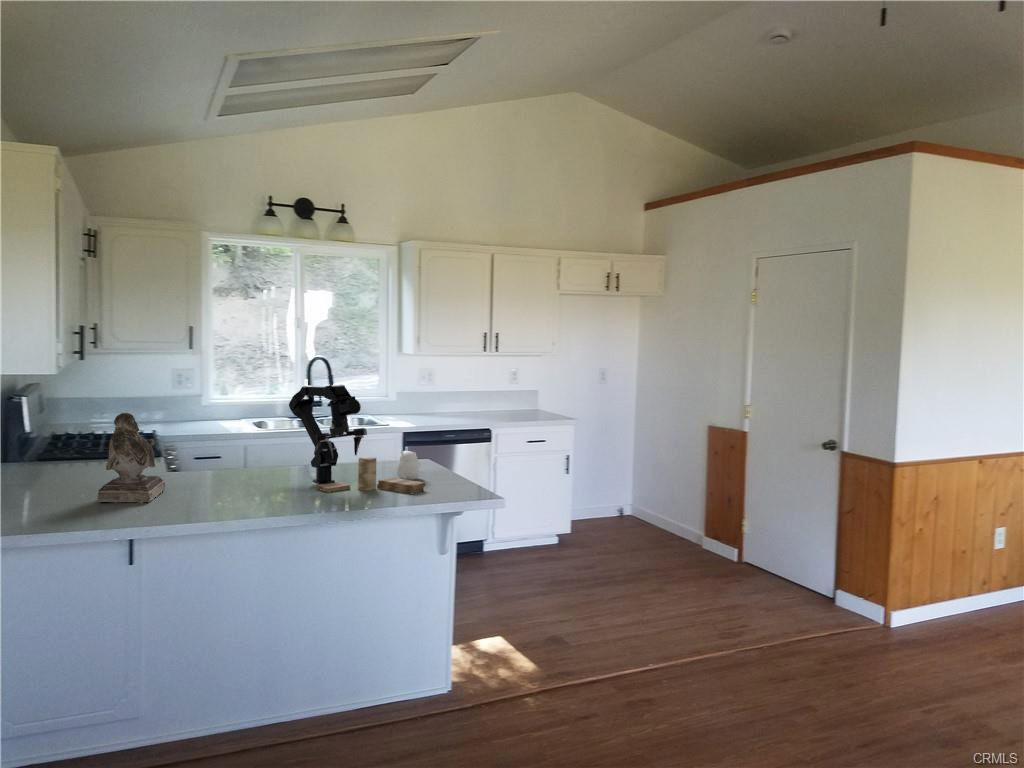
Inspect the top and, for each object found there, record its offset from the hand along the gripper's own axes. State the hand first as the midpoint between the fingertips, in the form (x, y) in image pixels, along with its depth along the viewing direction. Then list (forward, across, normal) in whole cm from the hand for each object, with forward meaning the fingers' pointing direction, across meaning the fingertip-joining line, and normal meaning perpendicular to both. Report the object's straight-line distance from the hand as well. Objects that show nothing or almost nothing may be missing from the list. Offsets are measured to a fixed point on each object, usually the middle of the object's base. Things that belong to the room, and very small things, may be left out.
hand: (344, 456), depth 288 cm
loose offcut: (+12, -5, -3) cm, 13 cm away
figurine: (+13, +20, +19) cm, 31 cm away
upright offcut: (+13, +7, 0) cm, 15 cm away
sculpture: (+4, -70, -26) cm, 75 cm away
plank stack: (+15, +20, +1) cm, 25 cm away
